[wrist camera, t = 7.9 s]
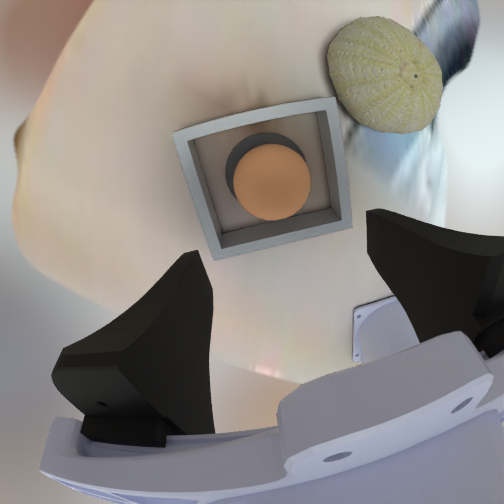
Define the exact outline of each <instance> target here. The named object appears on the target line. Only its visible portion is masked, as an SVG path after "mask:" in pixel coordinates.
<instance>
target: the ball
mask: <svg viewBox="0 0 504 504" xmlns="http://www.w3.org/2000/svg"><path fill="white" fill-rule="evenodd" d="M233 185H234V191H235V194H236V197H237V199H238V201H239V202H240V204H241V205H242V207H243V208H244V209H245V210H247V211H248V212H249V213H250V214H252V215H253V216H255V217H258V218H261V219H264V220H281V219H284V218H287V217H290V216H291V215H293V214H295V213H296V212H297V211H298V210H299V209H301V207H302V206H303V205H304V204H305V202H306V200H307V198H308V196H309V193H310V188H311V176H310V172H309V169H308V167H307V165H306V163H305V161H304V160H303V158H302V157H301V156H300V155H299V154H298V153H296V152H295V151H294V150H292V149H290V148H288V147H286V146H283V145H279V144H265V145H261V146H258V147H255V148H253V149H252V150H250V151H249V152H247V153H246V154H245V155H244V156H243V157H242V158H241V160H240V161H239V163H238V165H237V167H236V169H235V173H234V179H233Z"/></svg>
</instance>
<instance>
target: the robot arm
mask: <svg viewBox="0 0 504 504" xmlns="http://www.w3.org/2000/svg"><path fill="white" fill-rule="evenodd" d="M366 223H367V253H368V255H369V257H370V259H371V261H372V263H373V264H374V266H375V268H376V270H377V271H378V273H379V274H380V275H381V277H382V278H383V280H384V281H385V283H386V284H387V285H388V287H389V288H390V289H391V291H392V292H393V294H394V295H395V296H393V297H390V298H387V299H384V300H381V301H378V302H375V303H371V304H368V305H365V306H362V307H358V308H356V309H355V310H354V328H353V355H352V360H353V362H357V361H361V362H362V365H358V366H355V367H352V368H349V369H345V370H342V371H338V372H335V373H331V374H327V375H325V376H322V377H320V378H317V379H315V380H312V381H310V382H307V383H304V384H302V385H300V386H299V387H298V388H296V389H295V390H294V391H292V392H291V393H290V394H288V395H287V396H286V397H285V398H283V399H282V400H281V401H280V403H279V407H278V411H277V422H278V426H273V427H267V428H261V429H254V430H246V431H238V432H229V433H219V434H215V429H214V421H213V413H212V404H211V392H210V374H209V349H210V339H211V329H212V318H213V289H212V286H211V283H210V281H209V278H208V276H207V273H206V270H205V268H204V265H203V262H202V260H201V257H200V254H199V252H198V250H195V251H191V252H187V253H184V254H183V255H181V256H180V257H179V258H178V259H177V260H176V262H175V263H174V264H173V265H172V266H171V267H170V268H169V269H168V270H167V272H166V273H165V274H164V275H163V276H162V277H161V278H160V279H159V280H158V281H157V282H156V284H155V285H154V286H153V287H152V288H151V289H150V290H149V291H148V292H147V293H146V294H145V295H144V296H143V297H142V298H141V299H139V300H138V301H137V302H136V303H135V304H134V305H133V306H131V307H130V308H129V309H128V310H126V311H125V312H124V313H122V314H121V315H120V316H118V317H117V318H116V319H114V320H113V321H112V322H110V323H109V324H107V325H106V326H104V327H102V328H101V329H99V330H98V331H96V332H94V333H93V334H91V335H89V336H87V337H85V338H84V339H82V340H80V341H77V342H75V343H74V344H71V345H69V346H67V347H65V348H63V350H62V352H61V354H60V356H59V358H58V360H57V362H56V365H55V367H54V369H53V371H52V375H51V376H52V380H53V383H54V385H55V386H56V388H57V390H58V391H59V392H60V393H61V394H62V395H63V396H64V397H65V398H66V399H67V400H68V401H70V402H71V403H72V404H73V405H74V406H75V407H76V408H77V409H79V410H80V411H81V412H82V413H83V414H84V415H85V416H84V420H83V422H82V421H79V420H77V419H73V418H67V417H61V416H55V417H54V419H53V422H52V425H51V428H50V431H49V435H48V438H47V441H46V445H45V449H44V452H43V456H42V460H41V464H40V468H39V470H40V472H41V473H43V474H44V475H46V476H48V477H50V478H52V479H54V480H56V481H58V482H60V483H62V484H64V485H66V486H68V487H70V488H72V489H74V490H76V491H79V492H81V493H83V494H86V495H88V496H92V497H95V498H99V499H102V500H106V501H110V502H114V503H118V504H504V427H503V425H502V422H503V421H504V236H486V235H478V234H471V233H465V232H459V231H455V230H451V229H446V228H442V227H438V226H435V225H432V224H428V223H425V222H422V221H419V220H416V219H413V218H410V217H407V216H404V215H401V214H398V213H395V212H392V211H388V210H385V209H379V208H378V209H373V210H369V211H366Z"/></svg>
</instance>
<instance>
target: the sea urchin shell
mask: <svg viewBox="0 0 504 504" xmlns="http://www.w3.org/2000/svg"><path fill="white" fill-rule="evenodd" d="M326 57H327V60H328V65H329V76H330V77H331V79H332V81H333V85H334V87H335V90H336V93H337V95H338V99H339V100H340V101H341V103H342V104H343V105H344V107H345V108H346V110H347V111H348V112H349V114H350V115H351V116H352V117H353V118H354V119H356V120H357V121H358V122H359V123H360V124H363V125H365V126H367V127H370V128H372V129H375V130H378V131H380V132H383V133H384V132H392V133H399V134H405V133H411V132H414V131H420V130H423V129H424V128H425V127H426V126H427V125H428V124H430V123H431V122H432V119H433V118H434V116H435V114H436V112H437V110H438V109H439V107H440V100H441V94H442V89H443V87H442V71H441V69H440V67H439V64H438V62H437V60H436V59H435V57H434V56H433V55H432V53H431V51H430V50H429V49H428V47H427V45H425V44H424V43H423V42H422V41H421V40H420V39H418V38H417V37H416V36H415V35H414V33H412V32H411V31H410V30H409V29H407V28H405V27H403V26H402V25H400V24H398V23H397V22H395V21H394V20H392V19H387V18H384V17H379V16H376V17H368V18H359V19H357V20H355V21H353V22H352V23H350V24H349V25H346V26H345V27H344V28H342V29H341V30H340V31H339V33H338V35H337V36H336V37H335V38H334V39H333V40H332V42H331V44H329V50H328V54H327V56H326Z"/></svg>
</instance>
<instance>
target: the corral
mask: <svg viewBox="0 0 504 504" xmlns="http://www.w3.org/2000/svg"><path fill="white" fill-rule="evenodd" d="M315 111H316V115H317V120H318V125H319V131H320V136H321V142H322V147H323V153H324V159H325V166H326V172H327V179H328V186H329V193H330V201H331V208H329V209H324V210H320V211H315V212H311V213H307V214H302V215H298V216H294V217H289V218H285V219H281V220H277V221H272V222H268V223H264V224H260V225H256V226H252V227H248V228H243V229H239V230H235V231H231V232H227V233H223V234H222V232H221V228H220V225H219V222H218V219H217V216H216V213H215V209H214V206H213V203H212V200H211V197H210V193H209V190H208V187H207V184H206V180H205V177H204V174H203V171H202V167H201V164H200V161H199V157H198V154H197V151H196V147H195V144H194V141H193V139H195V138H199V137H202V136H206V135H209V134H213V133H216V132H220V131H224V130H227V129H231V128H235V127H239V126H244V125H248V124H252V123H256V122H261V121H266V120H270V119H275V118H280V117H286V116H291V115H297V114H303V113H309V112H315ZM172 137H173V140H174V143H175V146H176V150H177V153H178V156H179V159H180V162H181V165H182V169H183V172H184V175H185V178H186V181H187V184H188V187H189V190H190V193H191V196H192V199H193V202H194V205H195V208H196V211H197V214H198V217H199V220H200V223H201V226H202V228H203V231H204V234H205V237H206V240H207V243H208V246H209V248H210V251H211V254H212V257H213V260H214V261H215V260H219V259H224V258H228V257H232V256H236V255H240V254H245V253H249V252H253V251H257V250H261V249H265V248H270V247H274V246H278V245H282V244H286V243H290V242H295V241H299V240H303V239H307V238H311V237H316V236H320V235H324V234H328V233H332V232H336V231H341V230H345V229H349V228H353V226H352V213H351V201H350V191H349V182H348V173H347V165H346V158H345V150H344V144H343V137H342V131H341V125H340V119H339V114H338V108H337V103H336V98H335V97H322V98H314V99H307V100H301V101H295V102H289V103H283V104H278V105H273V106H268V107H263V108H258V109H253V110H249V111H245V112H240V113H236V114H232V115H228V116H224V117H221V118H217V119H213V120H210V121H206V122H203V123H199V124H196V125H193V126H189V127H186V128H183V129H180V130H177V131H175V132H173V133H172ZM265 144H279V145H283V146H286V147H288V148H290V149H292V150H294V151H295V152H296V153H298V154H299V155H300V156H301V157H302V158H303V160H304V161H305V158H304V155H303V153H302V152H301V150H300V149H299V147H298V146H297V145H296V144H295V143H294V142H292V141H291V140H290V139H288V138H286V137H285V136H282V135H279V134H275V133H258V134H254V135H251V136H249V137H247V138H245V139H244V140H242V141H241V142H240V143H239V144H238V145H237V146H236V147H235V148H234V149H233V151H232V152H231V154H230V156H229V158H228V161H227V165H226V180H227V184H228V187H229V189H230V191H231V193H232V194H233V196H234V197H235V198H236V199H237V197H236V194H235V191H234V185H233V179H234V173H235V169H236V167H237V165H238V163H239V161H240V160H241V158H242V157H243V156H244V155H245V154H246V153H247V152H249V151H250V150H252V149H253V148H255V147H258V146H261V145H265ZM305 163H306V161H305ZM237 200H238V199H237Z"/></svg>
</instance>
